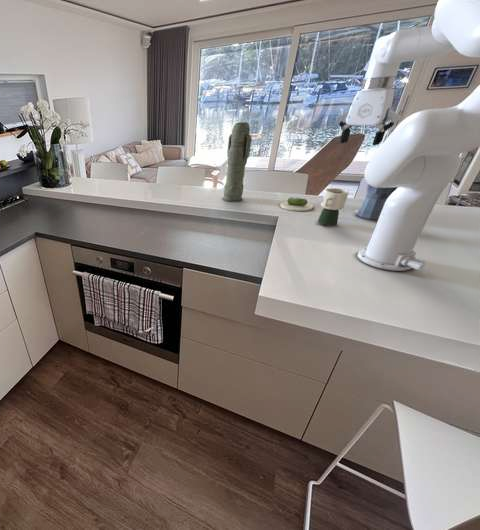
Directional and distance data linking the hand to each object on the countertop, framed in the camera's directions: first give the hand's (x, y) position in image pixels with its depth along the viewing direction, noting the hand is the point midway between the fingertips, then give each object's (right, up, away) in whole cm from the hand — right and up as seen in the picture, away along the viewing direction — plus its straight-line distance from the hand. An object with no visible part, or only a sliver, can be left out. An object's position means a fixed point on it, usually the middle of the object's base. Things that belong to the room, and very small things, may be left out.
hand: (359, 143), depth 97 cm
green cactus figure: (-24, -8, +48) cm, 55 cm away
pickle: (-1, -15, +33) cm, 36 cm away
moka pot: (+18, -23, +16) cm, 33 cm away
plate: (-1, -15, +33) cm, 36 cm away
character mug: (-1, -26, +14) cm, 29 cm away
